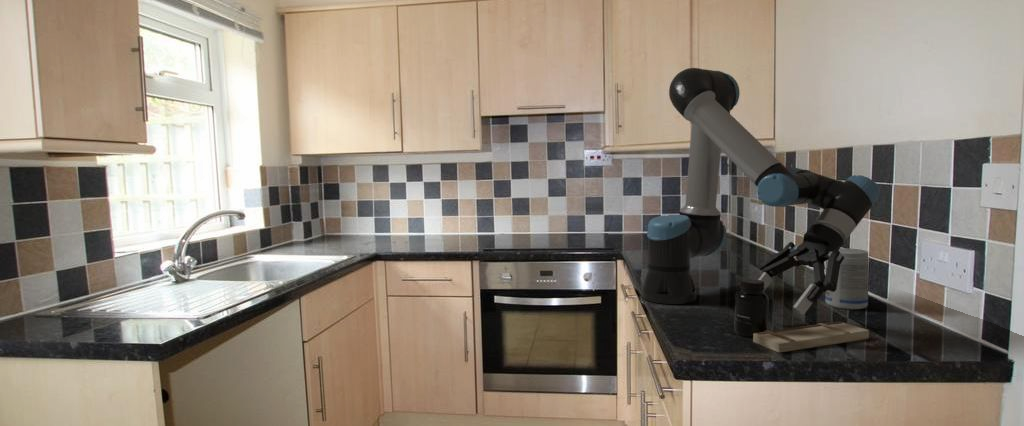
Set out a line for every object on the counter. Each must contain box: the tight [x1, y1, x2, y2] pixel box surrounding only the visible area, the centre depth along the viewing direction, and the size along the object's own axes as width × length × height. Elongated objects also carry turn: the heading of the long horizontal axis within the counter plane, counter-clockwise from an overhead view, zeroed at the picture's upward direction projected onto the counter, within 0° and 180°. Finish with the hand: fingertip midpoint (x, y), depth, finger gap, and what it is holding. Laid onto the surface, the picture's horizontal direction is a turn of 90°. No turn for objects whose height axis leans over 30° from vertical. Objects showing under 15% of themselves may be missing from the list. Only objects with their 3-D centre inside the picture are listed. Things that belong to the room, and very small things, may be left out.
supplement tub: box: [824, 247, 870, 310], centre depth 137 cm, size 10×10×15 cm
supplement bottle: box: [733, 278, 770, 339], centre depth 116 cm, size 7×7×12 cm
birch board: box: [752, 320, 870, 353], centre depth 111 cm, size 7×24×2 cm, turn 107°
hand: (773, 303), depth 117 cm, fingers open, 13 cm apart
